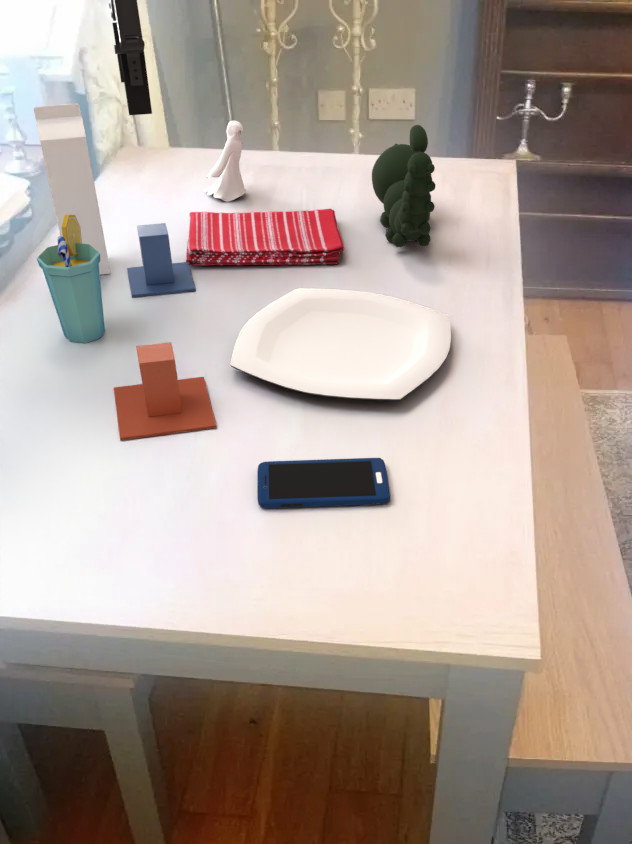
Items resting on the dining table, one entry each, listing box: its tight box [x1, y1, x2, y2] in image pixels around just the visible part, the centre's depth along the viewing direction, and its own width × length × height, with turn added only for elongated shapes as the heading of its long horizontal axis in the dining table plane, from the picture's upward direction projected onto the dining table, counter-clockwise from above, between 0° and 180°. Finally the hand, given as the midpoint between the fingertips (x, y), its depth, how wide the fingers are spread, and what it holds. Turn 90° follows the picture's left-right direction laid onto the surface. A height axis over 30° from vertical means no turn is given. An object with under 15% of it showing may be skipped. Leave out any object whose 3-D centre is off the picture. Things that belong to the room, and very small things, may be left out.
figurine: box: [203, 120, 247, 202], centre depth 149 cm, size 8×8×12 cm
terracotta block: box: [135, 341, 182, 417], centre depth 104 cm, size 4×4×7 cm
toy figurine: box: [371, 124, 436, 248], centre depth 137 cm, size 9×19×25 cm
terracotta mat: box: [113, 376, 218, 441], centre depth 106 cm, size 11×11×1 cm
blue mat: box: [126, 261, 197, 298], centre depth 130 cm, size 9×9×1 cm
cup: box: [36, 215, 106, 344], centre depth 113 cm, size 14×8×15 cm, turn 12°
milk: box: [33, 103, 111, 276], centre depth 126 cm, size 6×6×22 cm
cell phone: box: [256, 457, 391, 509], centre depth 96 cm, size 7×14×1 cm, turn 94°
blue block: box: [136, 222, 174, 285], centre depth 128 cm, size 4×4×7 cm
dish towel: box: [185, 208, 345, 266], centre depth 139 cm, size 17×24×3 cm
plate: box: [229, 287, 452, 401], centre depth 115 cm, size 27×27×2 cm
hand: (135, 97), depth 112 cm, fingers open, 13 cm apart
